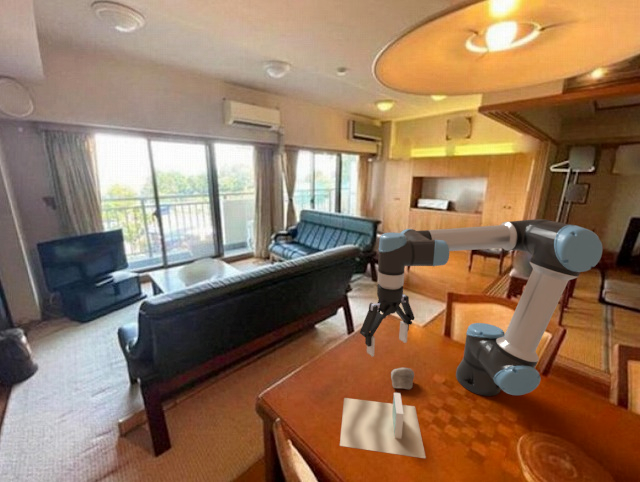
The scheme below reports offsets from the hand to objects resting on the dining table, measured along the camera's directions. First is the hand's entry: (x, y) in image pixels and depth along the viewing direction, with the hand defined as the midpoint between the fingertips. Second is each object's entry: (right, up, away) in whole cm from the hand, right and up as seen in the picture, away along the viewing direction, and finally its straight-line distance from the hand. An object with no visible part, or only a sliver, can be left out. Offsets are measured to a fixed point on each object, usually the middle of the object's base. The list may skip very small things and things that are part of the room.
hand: (387, 347), depth 89 cm
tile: (+3, -24, -1) cm, 25 cm away
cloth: (-2, -25, 0) cm, 25 cm away
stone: (+8, -21, +18) cm, 29 cm away
